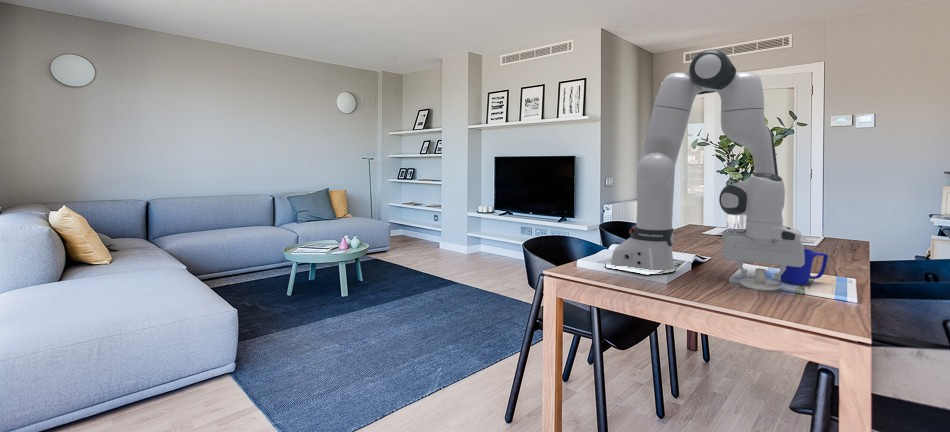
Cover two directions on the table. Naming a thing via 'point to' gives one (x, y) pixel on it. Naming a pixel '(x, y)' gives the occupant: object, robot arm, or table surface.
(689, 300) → the table surface
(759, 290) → the mat
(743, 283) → the lid
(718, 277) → the table surface
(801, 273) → the mug
